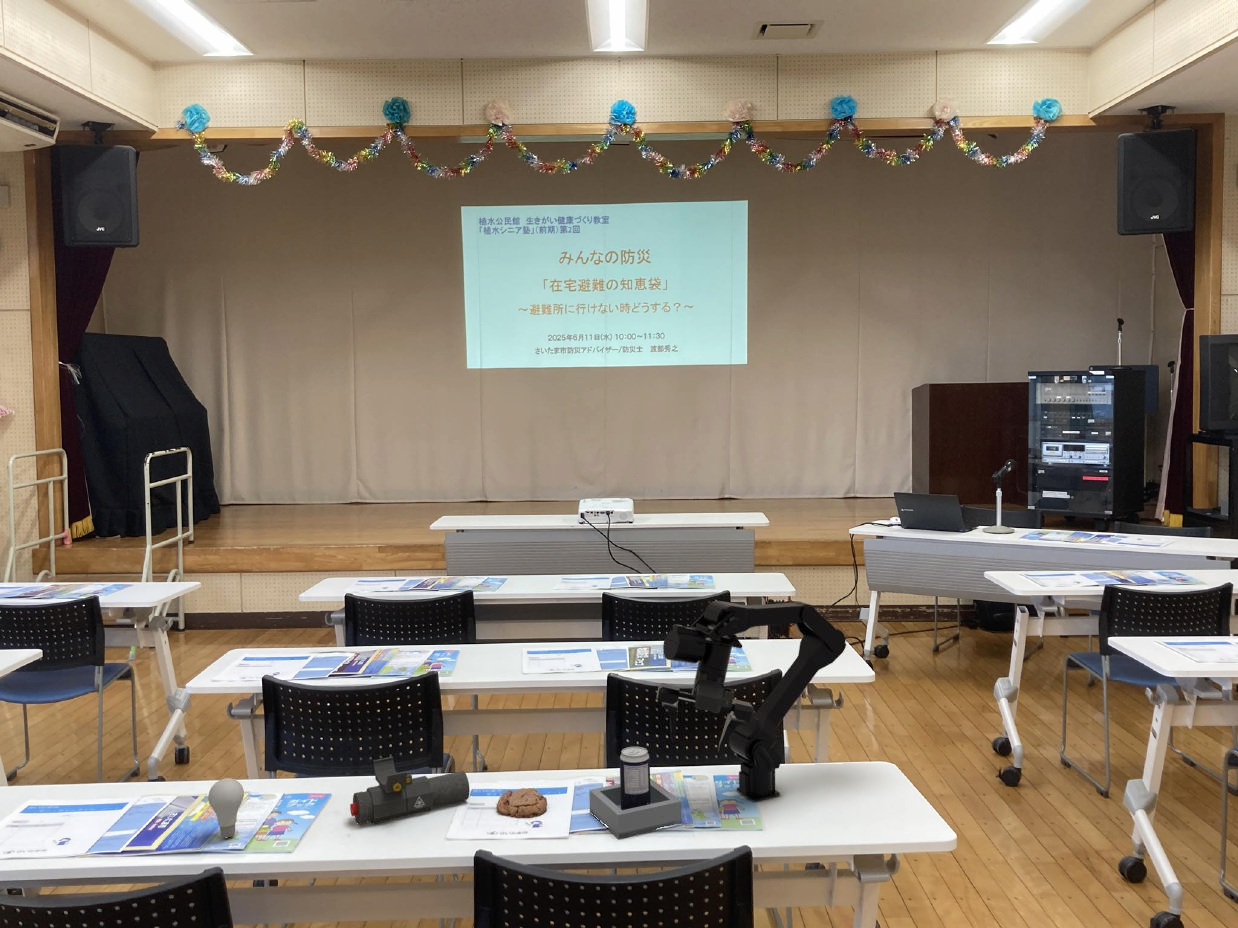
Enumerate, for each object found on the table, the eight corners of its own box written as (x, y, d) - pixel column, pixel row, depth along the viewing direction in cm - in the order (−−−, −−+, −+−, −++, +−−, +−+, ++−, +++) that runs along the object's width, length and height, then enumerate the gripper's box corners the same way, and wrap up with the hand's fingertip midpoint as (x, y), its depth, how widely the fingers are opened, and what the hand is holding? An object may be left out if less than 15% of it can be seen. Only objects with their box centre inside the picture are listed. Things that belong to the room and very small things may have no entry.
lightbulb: (211, 847, 174) (208, 788, 173) (208, 834, 180) (206, 776, 179) (247, 840, 177) (245, 781, 176) (243, 827, 182) (241, 770, 182)
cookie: (528, 824, 182) (527, 808, 182) (485, 811, 188) (485, 796, 188) (559, 805, 190) (559, 790, 190) (518, 794, 196) (518, 780, 196)
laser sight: (473, 808, 189) (472, 758, 189) (358, 835, 178) (356, 782, 178) (456, 792, 198) (455, 744, 197) (345, 816, 187) (344, 766, 186)
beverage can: (656, 811, 183) (655, 749, 183) (639, 821, 179) (638, 758, 178) (632, 804, 187) (631, 743, 186) (615, 814, 182) (613, 752, 181)
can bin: (650, 799, 191) (649, 777, 191) (681, 824, 180) (681, 800, 179) (589, 812, 186) (589, 789, 186) (618, 839, 174) (618, 814, 174)
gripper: (666, 662, 180) (648, 744, 179) (764, 684, 179) (747, 767, 178) (665, 653, 191) (648, 732, 190) (758, 674, 190) (741, 753, 189)
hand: (695, 746), depth 187 cm, fingers open, 9 cm apart
